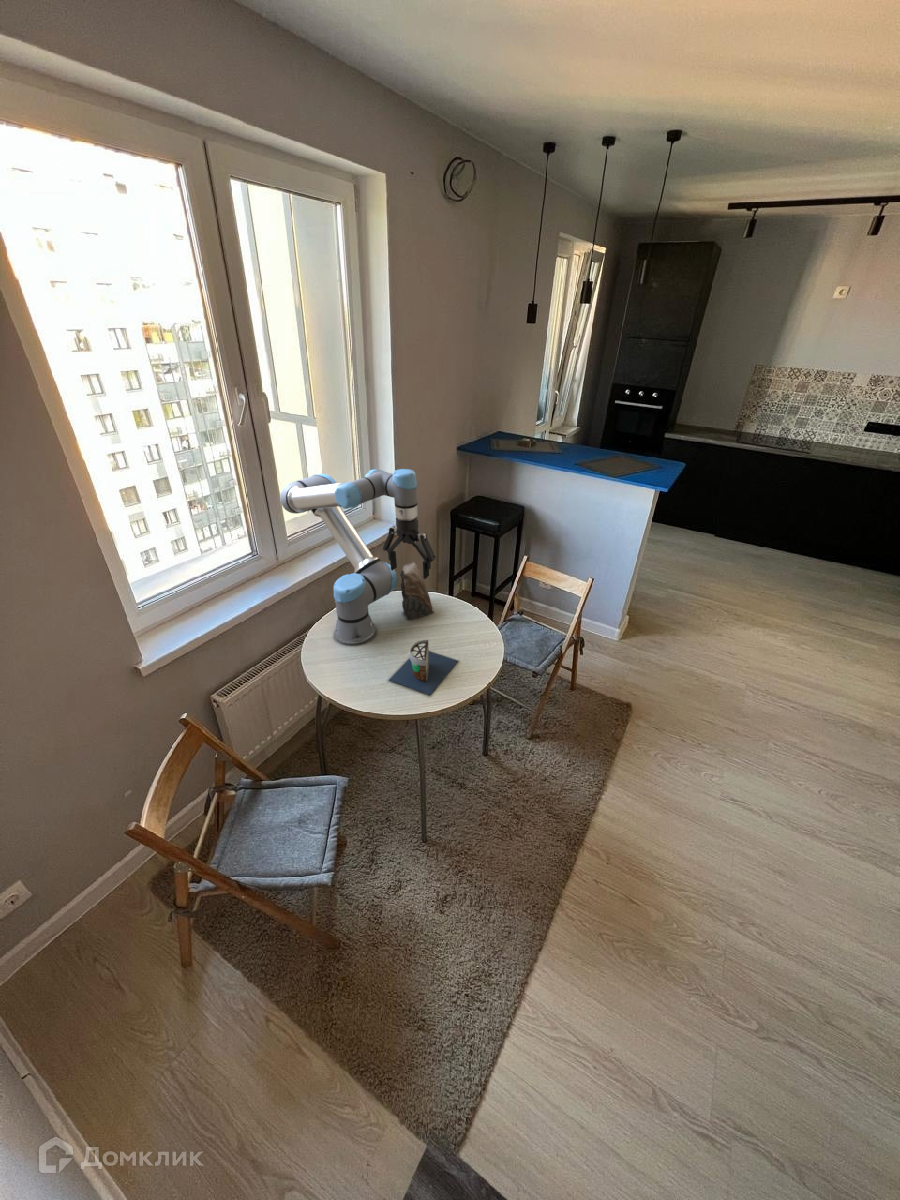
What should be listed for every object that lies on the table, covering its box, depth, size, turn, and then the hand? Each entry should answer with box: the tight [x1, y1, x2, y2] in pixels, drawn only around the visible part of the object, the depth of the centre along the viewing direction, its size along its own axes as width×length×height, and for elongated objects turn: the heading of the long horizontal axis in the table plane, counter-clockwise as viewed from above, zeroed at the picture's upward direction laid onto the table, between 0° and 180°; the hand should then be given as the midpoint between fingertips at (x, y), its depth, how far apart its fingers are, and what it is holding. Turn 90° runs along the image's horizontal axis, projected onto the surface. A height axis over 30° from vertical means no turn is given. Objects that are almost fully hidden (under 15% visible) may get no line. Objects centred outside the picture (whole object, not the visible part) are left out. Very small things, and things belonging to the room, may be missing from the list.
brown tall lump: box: [399, 560, 434, 621], centre depth 198 cm, size 13×13×20 cm
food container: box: [408, 639, 430, 682], centre depth 166 cm, size 12×6×10 cm, turn 178°
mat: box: [388, 650, 459, 696], centre depth 170 cm, size 16×20×1 cm
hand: (409, 573), depth 175 cm, fingers open, 13 cm apart
